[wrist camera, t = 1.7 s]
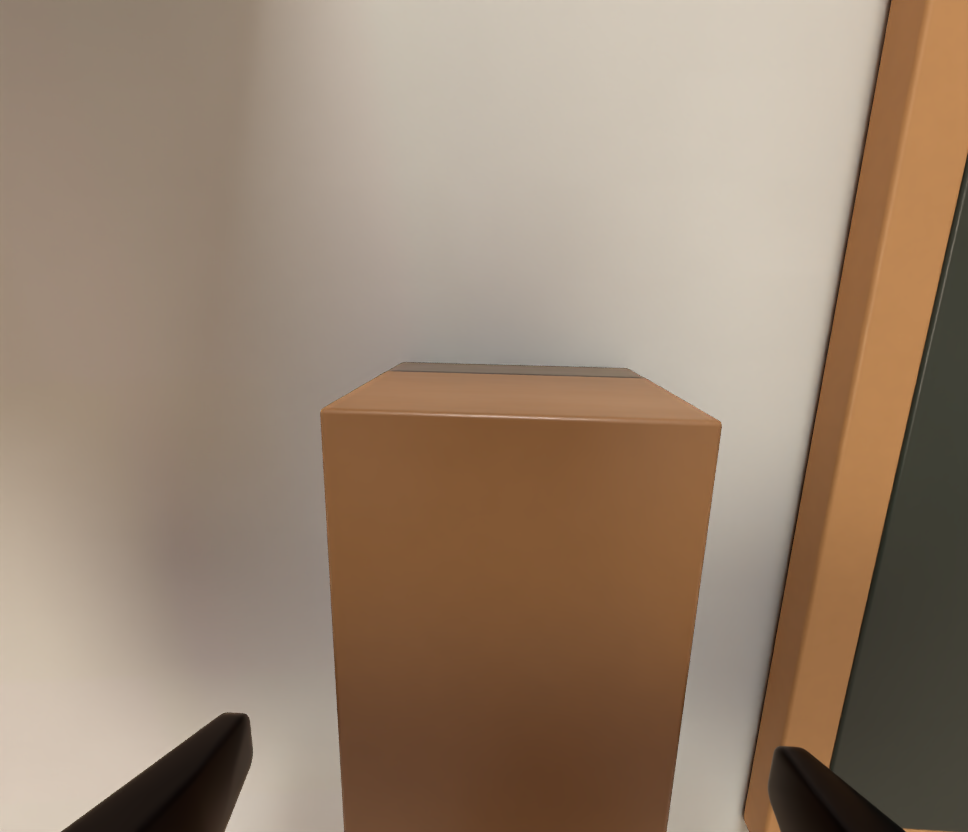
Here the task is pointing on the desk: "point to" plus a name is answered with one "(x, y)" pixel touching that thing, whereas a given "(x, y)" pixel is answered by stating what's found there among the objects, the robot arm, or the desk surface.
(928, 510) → the chalkboard
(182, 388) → the desk surface
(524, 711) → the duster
